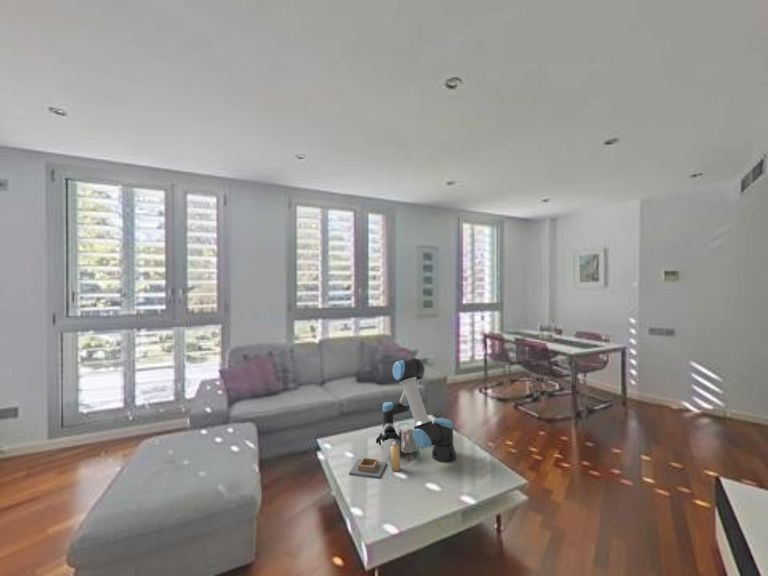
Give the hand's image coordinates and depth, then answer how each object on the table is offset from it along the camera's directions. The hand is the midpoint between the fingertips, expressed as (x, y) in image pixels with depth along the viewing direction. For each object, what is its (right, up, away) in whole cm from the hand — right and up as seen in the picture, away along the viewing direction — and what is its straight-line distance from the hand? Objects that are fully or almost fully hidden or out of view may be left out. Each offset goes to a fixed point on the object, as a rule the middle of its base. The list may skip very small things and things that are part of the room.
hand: (393, 446), depth 223 cm
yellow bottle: (+1, -9, -10) cm, 14 cm away
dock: (-15, -10, -9) cm, 20 cm away
